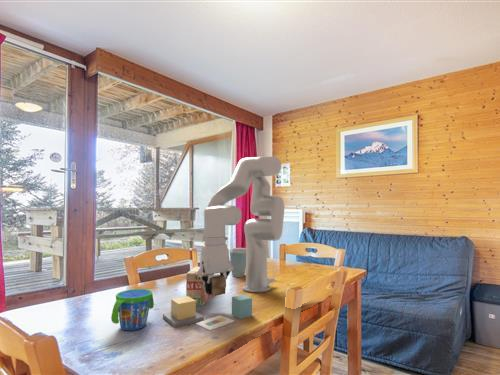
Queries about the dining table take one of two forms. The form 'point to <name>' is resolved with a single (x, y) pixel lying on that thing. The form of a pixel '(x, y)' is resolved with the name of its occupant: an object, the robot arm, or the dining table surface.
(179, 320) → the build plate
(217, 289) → the walnut brick
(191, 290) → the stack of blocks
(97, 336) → the dining table surface
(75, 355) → the dining table surface
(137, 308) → the snack cup
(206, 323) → the tile
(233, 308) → the teal brick
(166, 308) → the dining table surface
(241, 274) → the disposable coffee cup
